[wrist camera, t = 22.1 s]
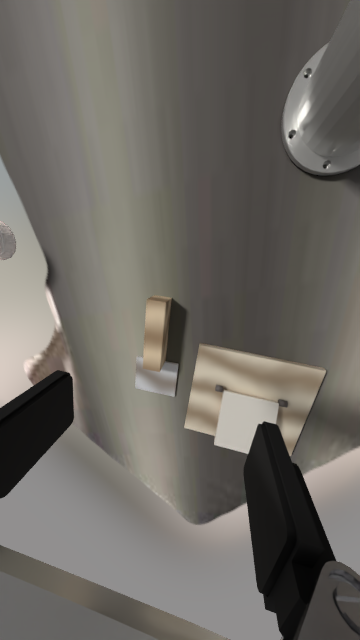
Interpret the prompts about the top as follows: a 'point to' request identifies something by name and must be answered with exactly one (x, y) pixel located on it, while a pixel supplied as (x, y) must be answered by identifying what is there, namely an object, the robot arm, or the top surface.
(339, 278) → the top surface
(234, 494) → the top surface
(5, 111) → the top surface
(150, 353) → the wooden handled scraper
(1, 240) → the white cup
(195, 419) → the board
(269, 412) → the tile
